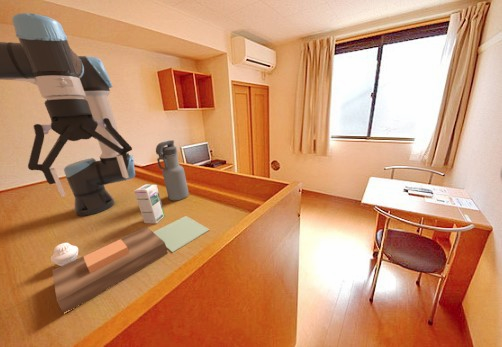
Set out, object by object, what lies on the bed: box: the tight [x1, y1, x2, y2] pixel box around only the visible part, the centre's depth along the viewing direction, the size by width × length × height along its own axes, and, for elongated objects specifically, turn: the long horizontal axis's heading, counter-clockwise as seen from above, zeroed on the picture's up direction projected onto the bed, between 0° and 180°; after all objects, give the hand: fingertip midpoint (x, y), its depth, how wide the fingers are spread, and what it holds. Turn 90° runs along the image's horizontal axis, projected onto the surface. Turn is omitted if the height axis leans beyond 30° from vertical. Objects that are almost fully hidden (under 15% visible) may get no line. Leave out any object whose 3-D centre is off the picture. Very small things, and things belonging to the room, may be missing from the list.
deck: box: [51, 226, 169, 313], centre depth 56 cm, size 14×24×4 cm, turn 138°
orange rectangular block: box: [83, 238, 129, 273], centre depth 54 cm, size 6×9×2 cm, turn 138°
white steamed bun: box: [50, 242, 79, 267], centre depth 58 cm, size 6×6×7 cm
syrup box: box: [134, 183, 166, 224], centre depth 77 cm, size 6×6×14 cm
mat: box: [152, 215, 210, 253], centre depth 70 cm, size 16×14×1 cm
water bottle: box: [155, 140, 189, 202], centre depth 95 cm, size 10×10×28 cm
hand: (97, 185), depth 51 cm, fingers open, 13 cm apart
